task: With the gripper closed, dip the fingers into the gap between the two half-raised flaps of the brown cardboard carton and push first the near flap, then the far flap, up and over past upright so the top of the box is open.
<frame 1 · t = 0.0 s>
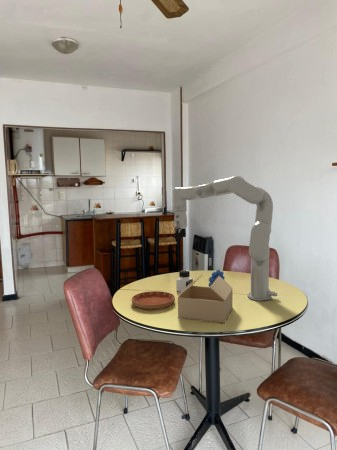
hand: (180, 238, 202), 31 cm above the table, tool pointing down, fingers open, 9 cm apart
grapes: (215, 289, 206), on the table
carton: (206, 312, 169), on the table
far flap: (190, 284, 170), point 13 cm above the table, hinge at 40.0°
near flap: (221, 287, 165), point 13 cm above the table, hinge at 40.0°
saucer: (153, 304, 184), on the table
medicine bottle: (184, 290, 205), on the table
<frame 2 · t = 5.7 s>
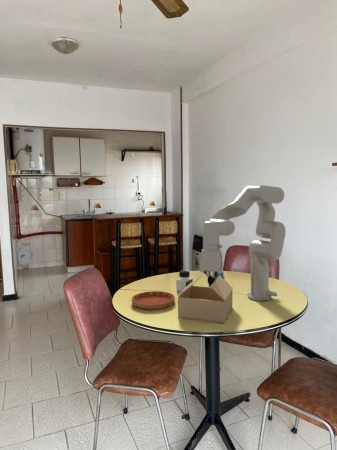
hand: (211, 284, 166), 14 cm above the table, tool pointing down, fingers closed
near flap: (222, 287, 164), point 14 cm above the table, hinge at 43.2°, touching gripper
everything else where it was.
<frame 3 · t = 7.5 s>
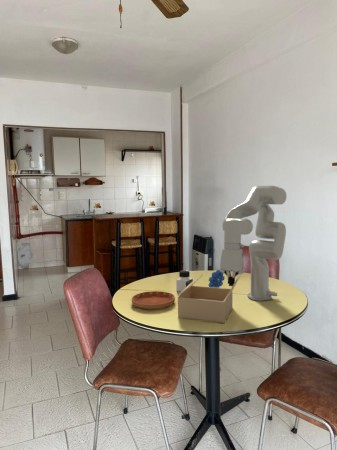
hand: (231, 285, 161), 15 cm above the table, tool pointing down, fingers closed
near flap: (233, 286, 163), point 14 cm above the table, hinge at 116.5°, touching gripper
everything else where it was.
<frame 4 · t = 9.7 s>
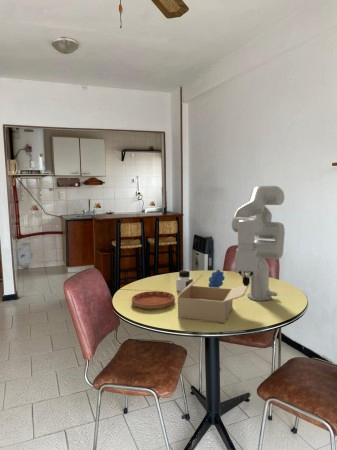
hand: (246, 285, 161), 15 cm above the table, tool pointing down, fingers closed
near flap: (237, 292, 162), point 12 cm above the table, hinge at 156.6°
everything else where it was.
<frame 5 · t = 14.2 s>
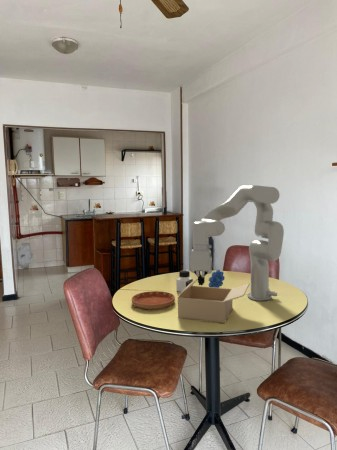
hand: (201, 284, 168), 14 cm above the table, tool pointing down, fingers closed
far flap: (190, 284, 170), point 13 cm above the table, hinge at 40.9°, touching gripper
everything else where it was.
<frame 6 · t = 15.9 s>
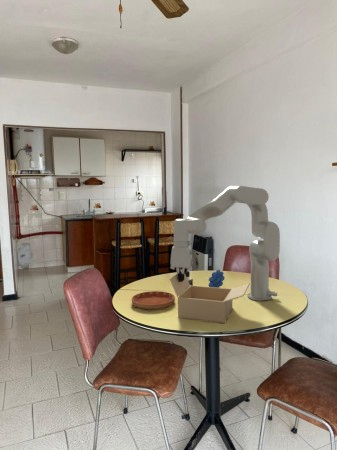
hand: (181, 281, 170), 15 cm above the table, tool pointing down, fingers closed
far flap: (180, 282, 172), point 14 cm above the table, hinge at 114.6°, touching gripper
everything else where it was.
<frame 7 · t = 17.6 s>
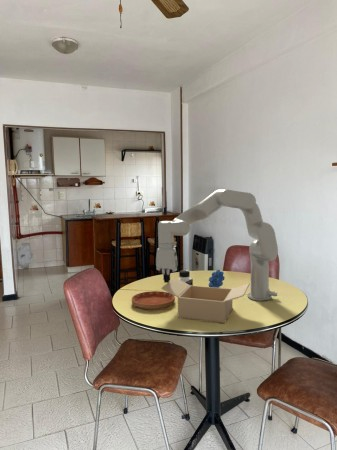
hand: (166, 281, 174), 14 cm above the table, tool pointing down, fingers closed
far flap: (176, 286, 173), point 12 cm above the table, hinge at 157.8°
everything else where it was.
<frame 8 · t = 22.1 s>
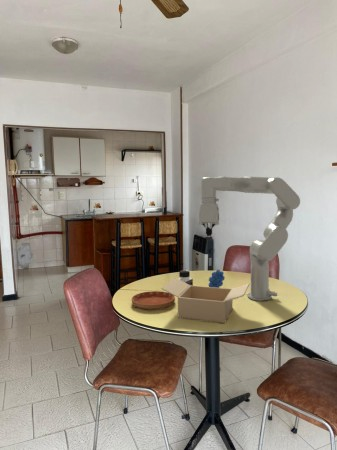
hand: (209, 235, 183), 35 cm above the table, tool pointing down, fingers closed
nothing on the table moved.
at the end: near flap at +157° (first picture: +40°); far flap at +158° (first picture: +40°) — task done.
